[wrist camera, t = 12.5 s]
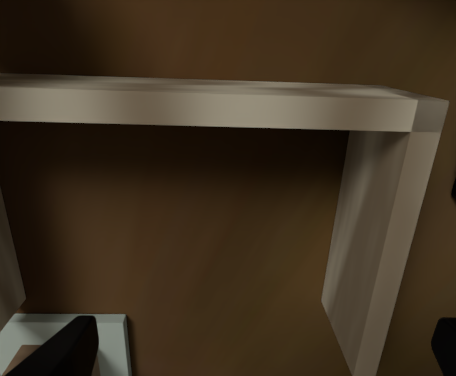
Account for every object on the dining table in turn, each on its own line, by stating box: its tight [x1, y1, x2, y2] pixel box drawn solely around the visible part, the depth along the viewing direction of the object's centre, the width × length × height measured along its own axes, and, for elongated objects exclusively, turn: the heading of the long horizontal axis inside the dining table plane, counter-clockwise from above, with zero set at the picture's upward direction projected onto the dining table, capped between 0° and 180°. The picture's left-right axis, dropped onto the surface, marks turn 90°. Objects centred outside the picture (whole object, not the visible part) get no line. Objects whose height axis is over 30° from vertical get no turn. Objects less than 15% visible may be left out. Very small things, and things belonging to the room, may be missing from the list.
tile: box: [0, 314, 132, 376], centre depth 25 cm, size 9×9×1 cm
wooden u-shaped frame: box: [0, 73, 450, 376], centre depth 18 cm, size 22×14×6 cm, turn 88°
